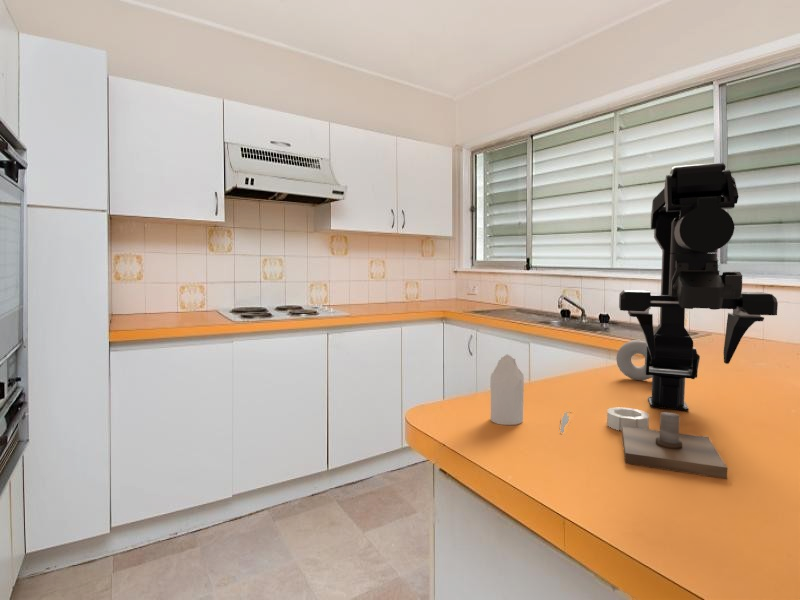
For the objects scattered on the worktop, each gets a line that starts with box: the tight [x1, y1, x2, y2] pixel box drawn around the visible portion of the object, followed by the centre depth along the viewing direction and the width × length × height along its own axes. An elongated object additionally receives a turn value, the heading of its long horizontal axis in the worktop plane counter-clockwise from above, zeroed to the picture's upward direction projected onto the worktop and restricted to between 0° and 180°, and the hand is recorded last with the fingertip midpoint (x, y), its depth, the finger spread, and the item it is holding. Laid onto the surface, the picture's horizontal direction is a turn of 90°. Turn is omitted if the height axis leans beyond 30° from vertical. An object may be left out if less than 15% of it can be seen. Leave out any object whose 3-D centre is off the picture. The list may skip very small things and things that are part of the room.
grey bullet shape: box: [489, 354, 525, 426], centre depth 83 cm, size 6×12×6 cm
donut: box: [615, 339, 653, 381], centre depth 113 cm, size 10×4×10 cm, turn 57°
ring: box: [606, 406, 650, 432], centre depth 80 cm, size 6×6×2 cm
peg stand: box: [621, 411, 728, 480], centre depth 68 cm, size 12×12×6 cm
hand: (688, 360), depth 67 cm, fingers open, 9 cm apart
